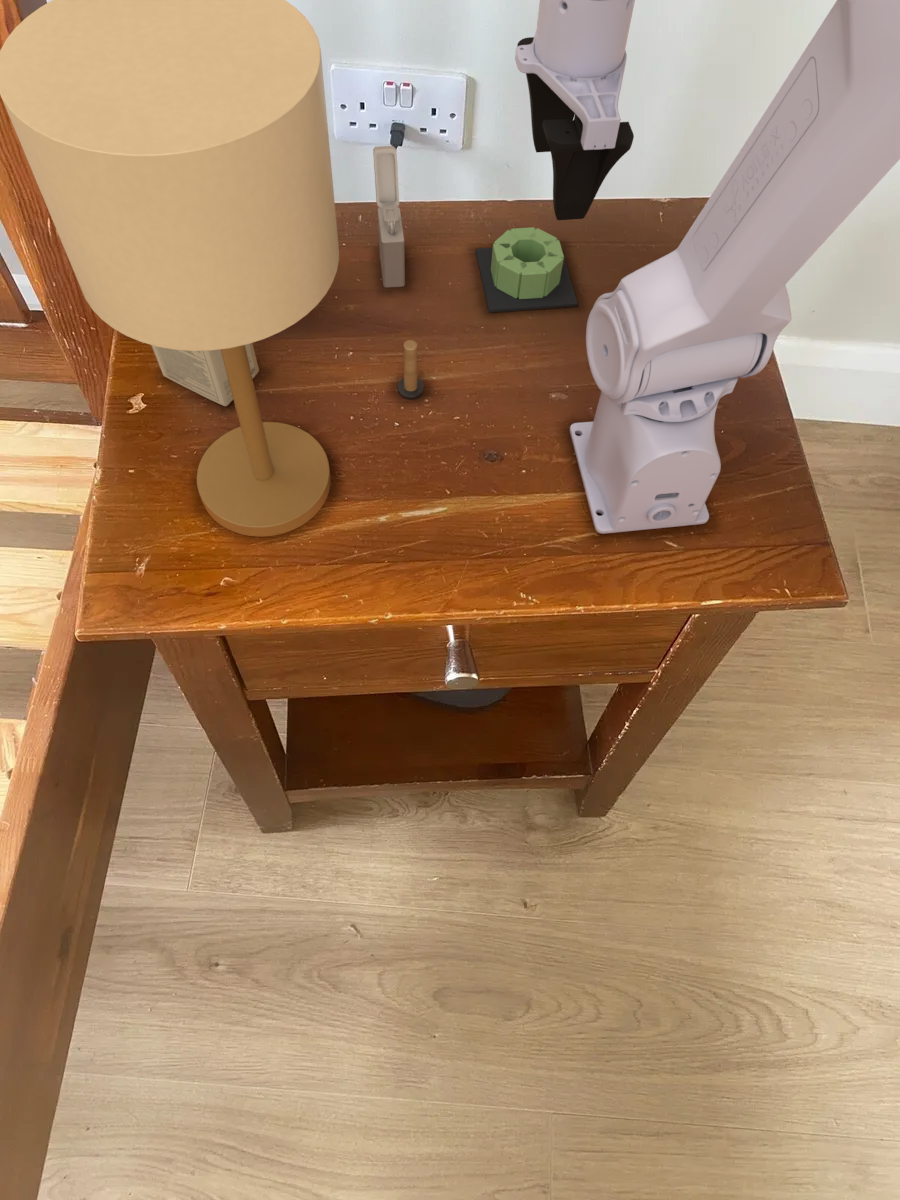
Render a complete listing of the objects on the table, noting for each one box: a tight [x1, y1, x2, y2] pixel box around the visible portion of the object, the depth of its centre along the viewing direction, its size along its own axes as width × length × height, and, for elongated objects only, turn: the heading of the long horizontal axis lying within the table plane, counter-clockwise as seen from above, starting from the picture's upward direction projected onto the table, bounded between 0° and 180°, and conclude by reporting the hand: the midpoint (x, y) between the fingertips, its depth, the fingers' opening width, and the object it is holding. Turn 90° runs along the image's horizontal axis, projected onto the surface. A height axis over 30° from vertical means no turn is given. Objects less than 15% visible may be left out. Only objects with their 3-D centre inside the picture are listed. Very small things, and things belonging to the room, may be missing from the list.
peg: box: [396, 339, 425, 400], centre depth 64 cm, size 2×2×4 cm
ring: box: [491, 226, 565, 299], centre depth 71 cm, size 5×5×2 cm
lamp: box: [0, 0, 340, 538], centre depth 49 cm, size 13×13×29 cm
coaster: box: [474, 243, 578, 314], centre depth 72 cm, size 7×7×1 cm
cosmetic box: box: [151, 342, 260, 407], centre depth 61 cm, size 6×4×12 cm
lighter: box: [372, 145, 406, 288], centre depth 70 cm, size 7×2×8 cm, turn 7°
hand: (558, 181), depth 64 cm, fingers open, 7 cm apart
